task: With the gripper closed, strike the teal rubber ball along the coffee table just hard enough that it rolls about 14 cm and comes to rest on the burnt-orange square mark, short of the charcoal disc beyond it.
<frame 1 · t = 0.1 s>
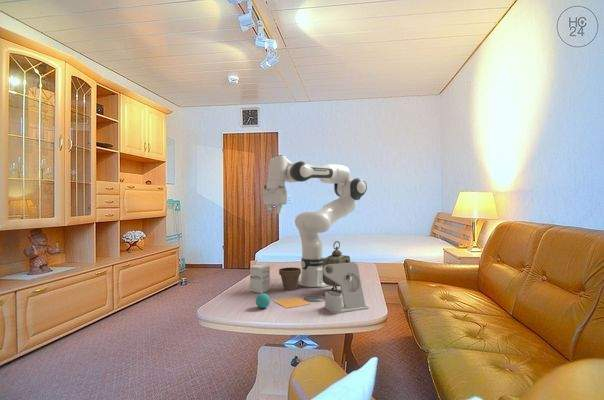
hand: (273, 213, 169), 39 cm above the table, tool pointing down, fingers open, 8 cm apart
phone holder: (346, 308, 139), on the table
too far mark: (314, 298, 152), on the table
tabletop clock: (336, 291, 165), on the table
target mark: (292, 302, 146), on the table
supplement box: (259, 291, 166), on the table
flower pot: (290, 289, 171), on the table
ball: (262, 300, 139), on the table
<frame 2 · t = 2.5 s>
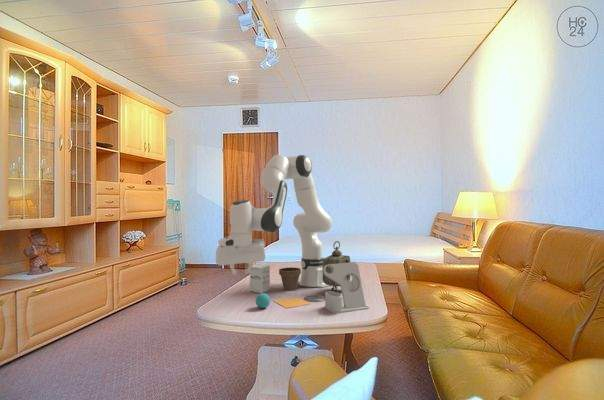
hand: (241, 274, 134), 15 cm above the table, tool pointing down, fingers open, 4 cm apart
nothing on the table moved.
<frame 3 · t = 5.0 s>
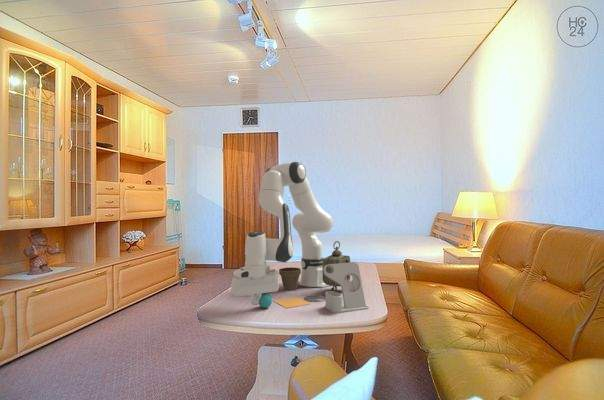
hand: (255, 304, 137), 2 cm above the table, tool pointing down, fingers closed
ball: (265, 300, 139), on the table, touching gripper
everything else where it was.
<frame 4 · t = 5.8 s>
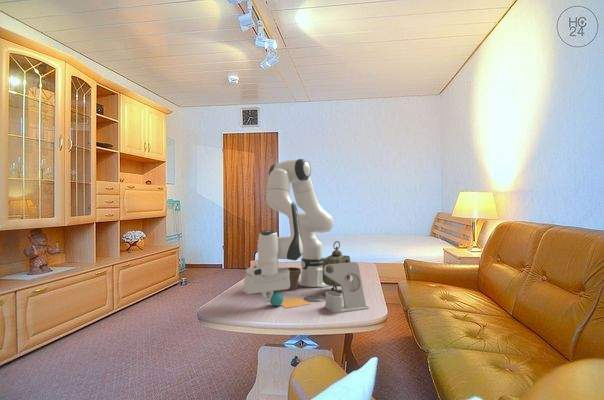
hand: (267, 301, 140), 2 cm above the table, tool pointing down, fingers closed
ball: (276, 298, 142), on the table, touching gripper
everything else where it was.
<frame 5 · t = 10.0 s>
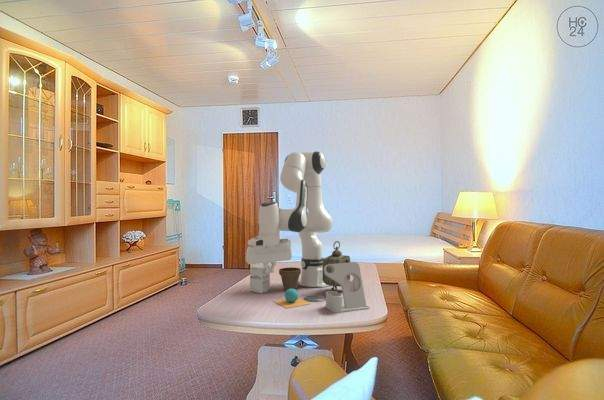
hand: (269, 272, 141), 14 cm above the table, tool pointing down, fingers closed
ball: (291, 295, 147), on the table
everything else where it was.
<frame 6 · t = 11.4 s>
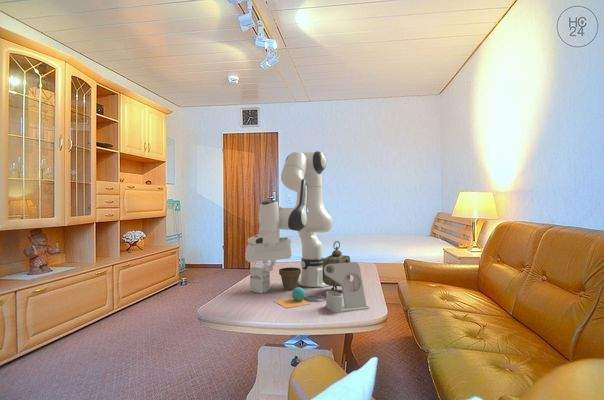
hand: (269, 270, 141), 15 cm above the table, tool pointing down, fingers closed
ball: (298, 294, 149), on the table
everything else where it was.
at the end: ball 3.9 cm from the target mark (horizontally); ball at rest at the end (0.0 cm/s); ball moved 17.9 cm from its start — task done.
